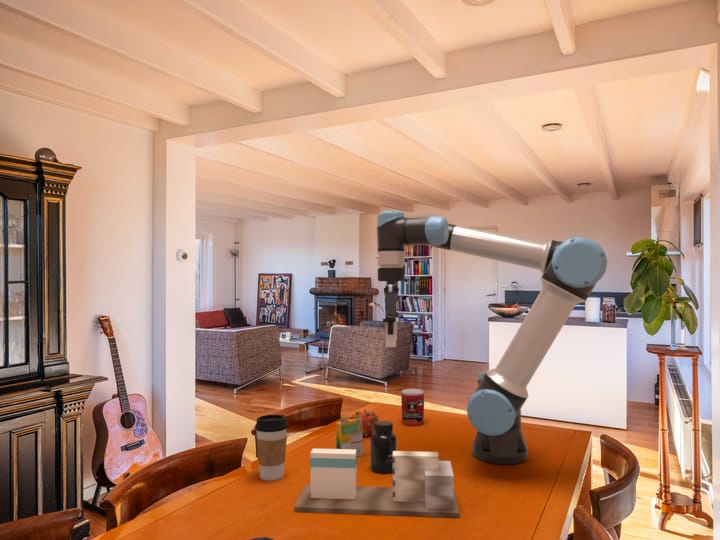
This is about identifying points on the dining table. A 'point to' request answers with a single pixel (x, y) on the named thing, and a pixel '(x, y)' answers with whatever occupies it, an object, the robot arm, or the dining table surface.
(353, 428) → the crayon box
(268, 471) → the coffee cup
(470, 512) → the dining table surface
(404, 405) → the canned food
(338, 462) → the blue-striped white box
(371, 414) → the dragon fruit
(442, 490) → the stepped block stand
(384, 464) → the supplement bottle
